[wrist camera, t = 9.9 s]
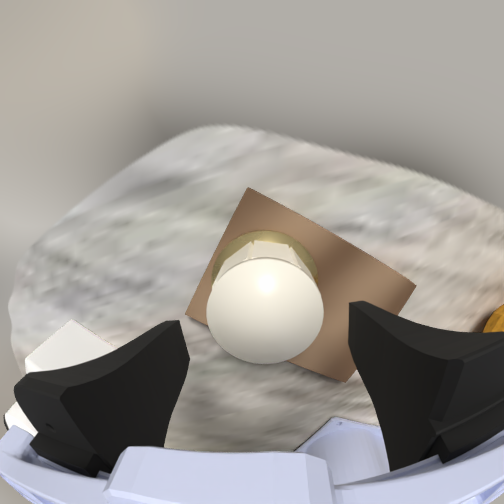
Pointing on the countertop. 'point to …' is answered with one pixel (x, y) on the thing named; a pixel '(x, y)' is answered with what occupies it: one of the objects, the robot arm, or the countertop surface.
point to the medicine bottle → (59, 361)
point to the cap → (264, 304)
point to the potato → (495, 321)
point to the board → (329, 280)
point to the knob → (266, 237)
